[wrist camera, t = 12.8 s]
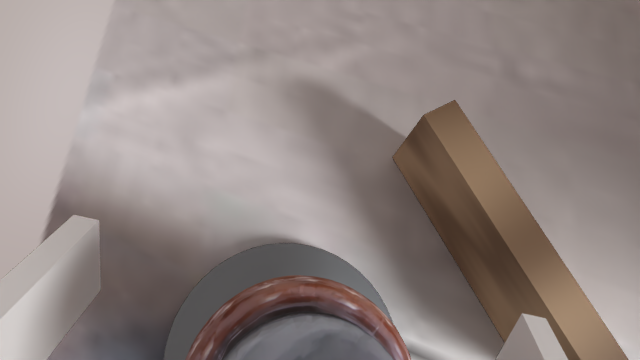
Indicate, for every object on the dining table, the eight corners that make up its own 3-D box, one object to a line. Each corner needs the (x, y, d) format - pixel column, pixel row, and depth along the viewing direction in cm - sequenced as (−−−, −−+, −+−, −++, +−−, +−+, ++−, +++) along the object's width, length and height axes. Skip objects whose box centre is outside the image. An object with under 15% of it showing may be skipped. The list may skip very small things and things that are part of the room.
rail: (392, 157, 23) (423, 114, 18) (417, 144, 23) (455, 99, 18) (525, 377, 20) (604, 396, 15) (552, 359, 20) (637, 372, 15)
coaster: (279, 203, 21) (279, 199, 20) (438, 347, 20) (445, 349, 19) (116, 371, 18) (109, 373, 18) (290, 552, 17) (291, 563, 16)
